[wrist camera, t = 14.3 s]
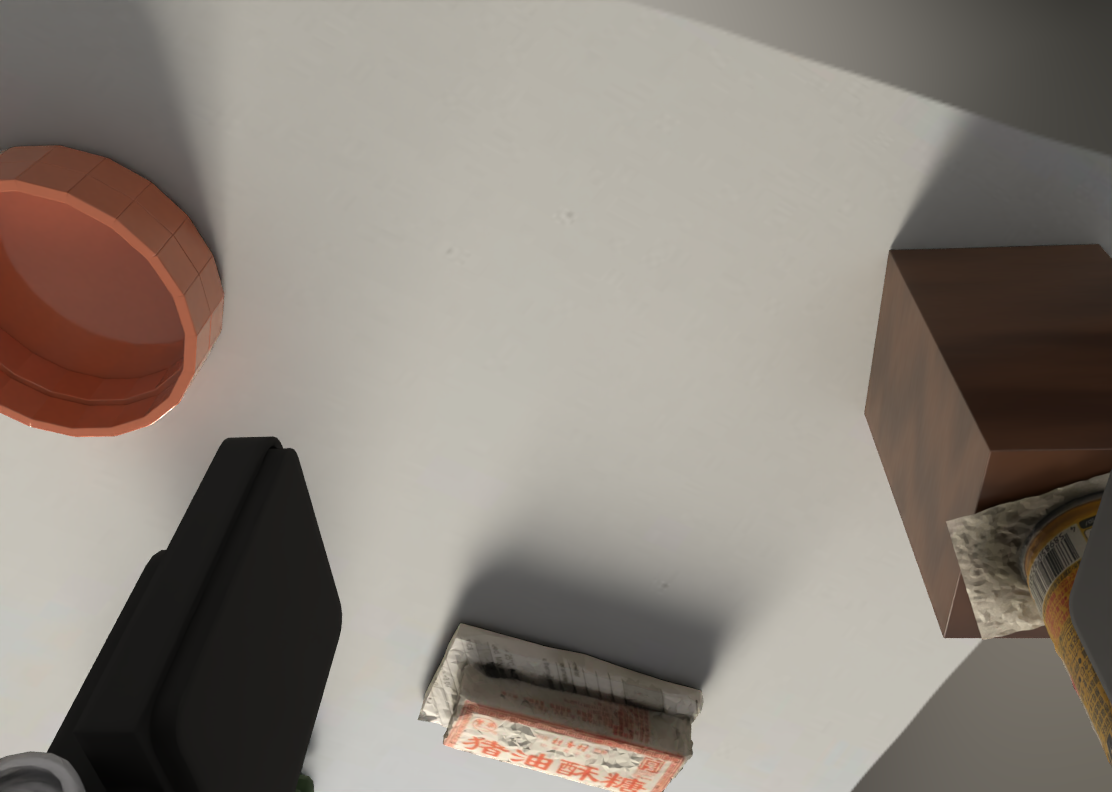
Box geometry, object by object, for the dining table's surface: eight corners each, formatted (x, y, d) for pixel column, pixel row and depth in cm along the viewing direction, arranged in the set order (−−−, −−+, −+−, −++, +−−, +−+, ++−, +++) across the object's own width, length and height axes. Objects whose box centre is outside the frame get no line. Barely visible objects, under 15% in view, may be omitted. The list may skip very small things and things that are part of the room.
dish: (-104, 148, 48) (-163, 185, 44) (183, 137, 47) (146, 174, 43) (7, 390, 56) (-35, 439, 53) (253, 386, 55) (227, 434, 52)
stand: (888, 249, 49) (990, 450, 35) (1099, 243, 48) (1281, 446, 35) (863, 413, 54) (943, 638, 41) (1051, 410, 54) (1192, 638, 40)
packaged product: (712, 746, 64) (652, 825, 70) (706, 686, 68) (650, 765, 74) (447, 676, 61) (407, 764, 67) (457, 617, 65) (418, 704, 71)
